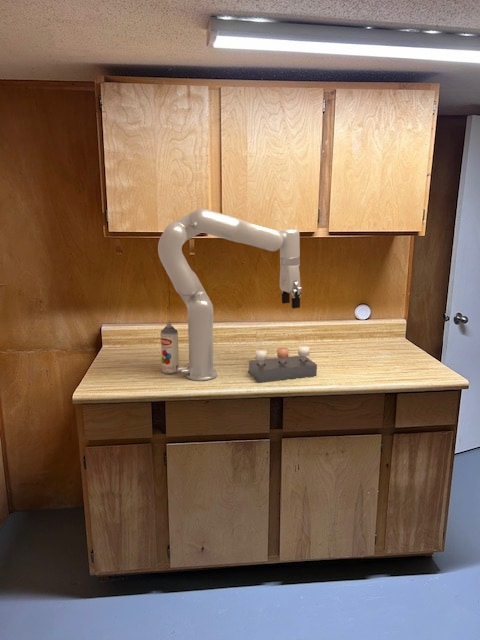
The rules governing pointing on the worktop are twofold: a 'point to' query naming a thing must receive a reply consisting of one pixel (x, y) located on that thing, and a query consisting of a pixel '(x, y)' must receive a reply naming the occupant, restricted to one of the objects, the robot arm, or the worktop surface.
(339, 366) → the worktop surface
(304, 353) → the far knob
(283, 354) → the middle knob
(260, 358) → the near knob
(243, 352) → the worktop surface
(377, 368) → the worktop surface
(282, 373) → the knob panel
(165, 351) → the aerosol can
